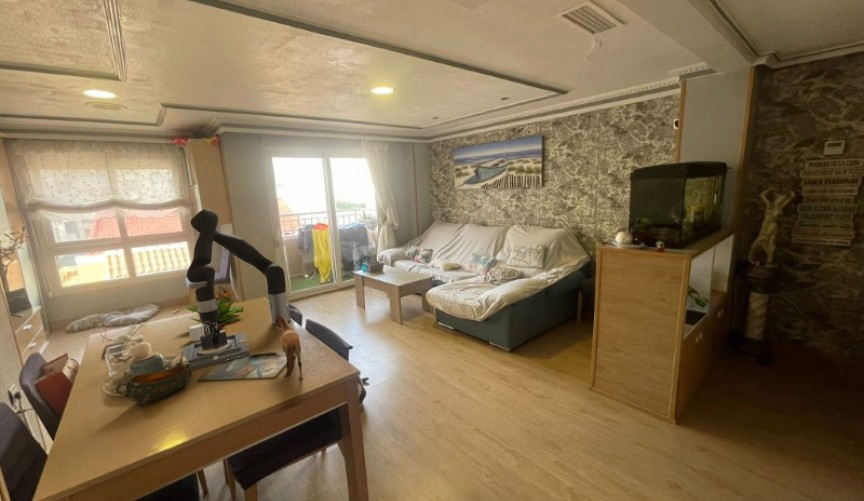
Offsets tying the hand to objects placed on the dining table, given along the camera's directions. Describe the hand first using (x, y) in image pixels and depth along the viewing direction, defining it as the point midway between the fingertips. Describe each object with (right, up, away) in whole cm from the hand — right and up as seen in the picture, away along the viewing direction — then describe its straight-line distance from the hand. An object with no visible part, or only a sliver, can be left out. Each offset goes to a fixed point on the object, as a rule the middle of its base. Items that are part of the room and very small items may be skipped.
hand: (214, 343), depth 162 cm
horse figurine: (+42, -6, -21) cm, 48 cm away
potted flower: (-23, +1, +38) cm, 44 cm away
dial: (0, -2, 0) cm, 2 cm away
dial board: (0, -4, +1) cm, 4 cm away
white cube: (-20, -3, +19) cm, 28 cm away
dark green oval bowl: (0, -11, -33) cm, 34 cm away
